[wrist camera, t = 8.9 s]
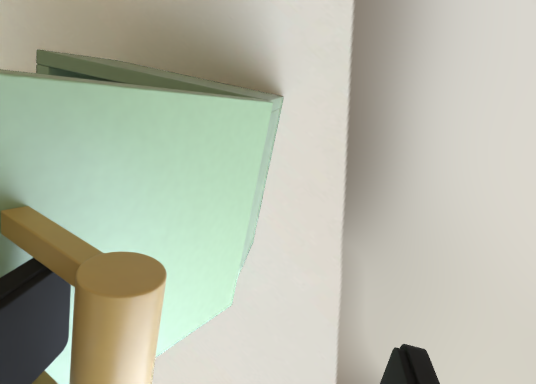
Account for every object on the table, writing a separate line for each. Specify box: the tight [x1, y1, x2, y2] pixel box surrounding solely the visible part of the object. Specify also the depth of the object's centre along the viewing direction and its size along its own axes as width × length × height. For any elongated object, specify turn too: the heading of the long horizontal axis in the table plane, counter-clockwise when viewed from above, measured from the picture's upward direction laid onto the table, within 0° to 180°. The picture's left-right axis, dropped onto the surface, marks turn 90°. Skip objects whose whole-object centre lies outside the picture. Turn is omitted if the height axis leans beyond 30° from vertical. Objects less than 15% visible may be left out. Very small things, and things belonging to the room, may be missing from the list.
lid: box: [0, 69, 273, 384], centre depth 14 cm, size 14×13×6 cm
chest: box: [36, 50, 283, 276], centre depth 26 cm, size 14×13×9 cm
